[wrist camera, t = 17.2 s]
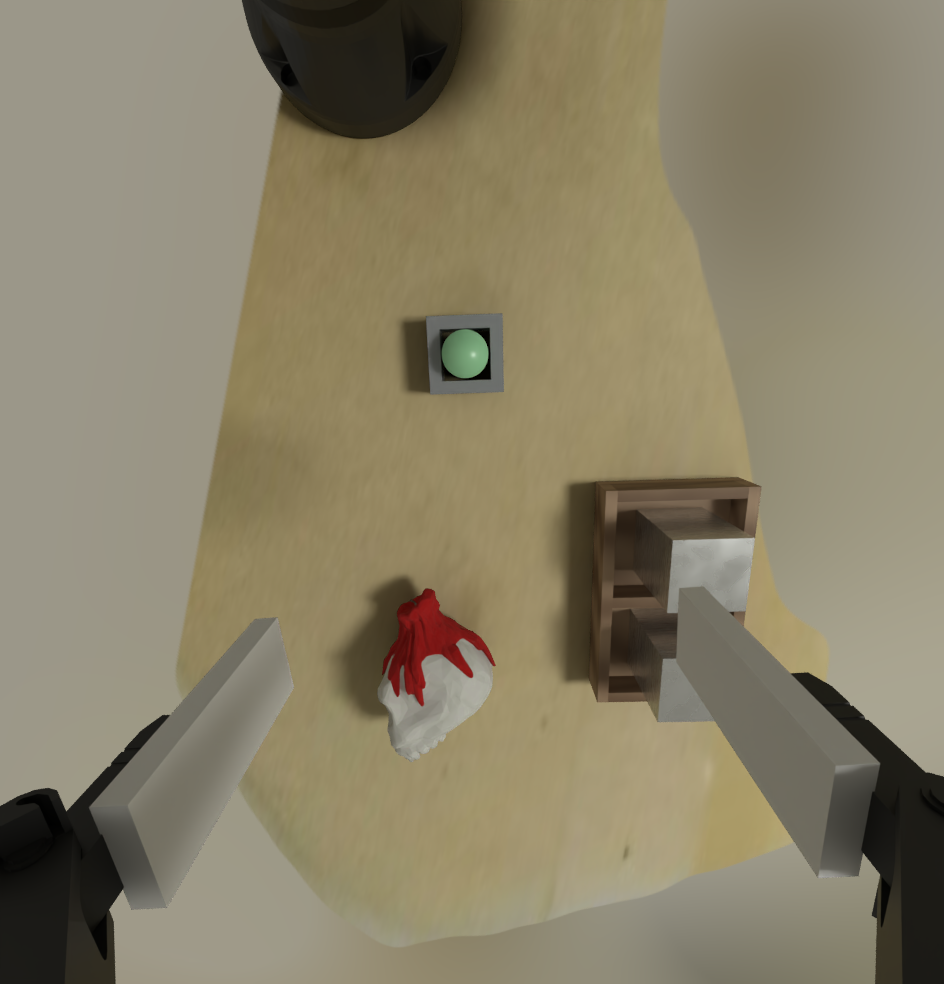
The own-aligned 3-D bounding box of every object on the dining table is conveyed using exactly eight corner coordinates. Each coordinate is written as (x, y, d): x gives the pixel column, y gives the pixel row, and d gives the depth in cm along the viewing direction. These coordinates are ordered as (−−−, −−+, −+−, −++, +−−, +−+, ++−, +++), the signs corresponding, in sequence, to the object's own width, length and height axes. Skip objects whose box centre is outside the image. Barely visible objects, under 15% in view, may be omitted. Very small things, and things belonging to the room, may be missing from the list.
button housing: (429, 320, 38) (425, 316, 36) (500, 318, 38) (502, 313, 35) (433, 393, 40) (430, 394, 37) (501, 390, 40) (503, 391, 37)
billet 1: (636, 509, 41) (672, 540, 34) (702, 507, 41) (754, 538, 33) (633, 570, 43) (667, 613, 35) (697, 568, 43) (745, 611, 35)
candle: (409, 722, 48) (366, 591, 46) (512, 697, 47) (471, 563, 45) (389, 789, 39) (334, 629, 37) (515, 760, 38) (464, 595, 36)
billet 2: (630, 608, 44) (662, 658, 36) (692, 607, 44) (739, 657, 36) (627, 662, 45) (657, 722, 38) (687, 661, 45) (730, 720, 37)
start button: (443, 334, 38) (440, 330, 34) (487, 332, 38) (487, 328, 34) (446, 378, 39) (442, 378, 35) (488, 377, 39) (488, 377, 35)
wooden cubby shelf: (595, 481, 42) (606, 491, 38) (738, 477, 41) (761, 486, 38) (588, 678, 47) (597, 702, 44) (715, 676, 47) (734, 699, 43)
